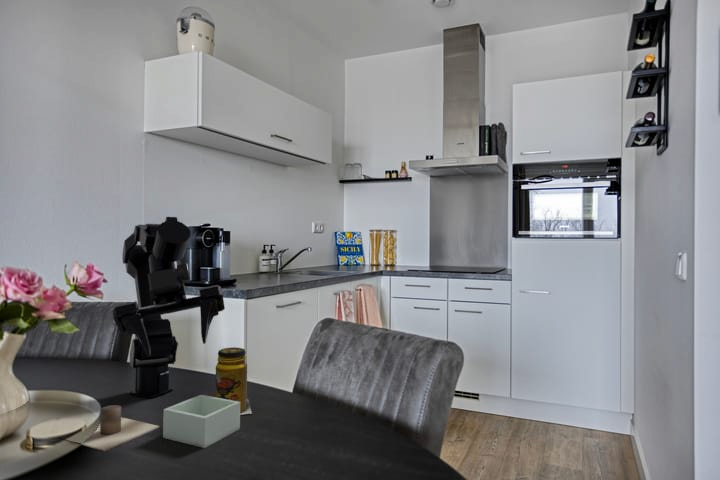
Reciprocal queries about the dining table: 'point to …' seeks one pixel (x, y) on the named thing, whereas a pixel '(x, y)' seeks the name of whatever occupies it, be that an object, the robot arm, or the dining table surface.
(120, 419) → the lid
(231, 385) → the condiment
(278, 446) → the dining table surface
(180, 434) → the mint green open box
